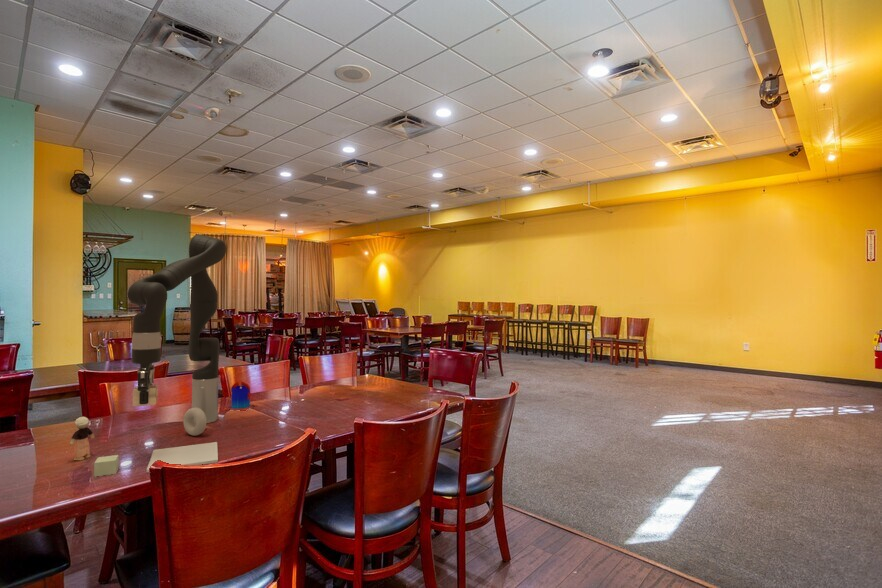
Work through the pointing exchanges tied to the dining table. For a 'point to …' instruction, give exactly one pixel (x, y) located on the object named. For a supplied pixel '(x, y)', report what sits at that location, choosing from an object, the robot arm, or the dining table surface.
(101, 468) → the sage block
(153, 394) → the birch block
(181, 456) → the base plate
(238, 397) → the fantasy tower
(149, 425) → the dining table surface
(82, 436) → the grandmother figurine
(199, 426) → the donut
